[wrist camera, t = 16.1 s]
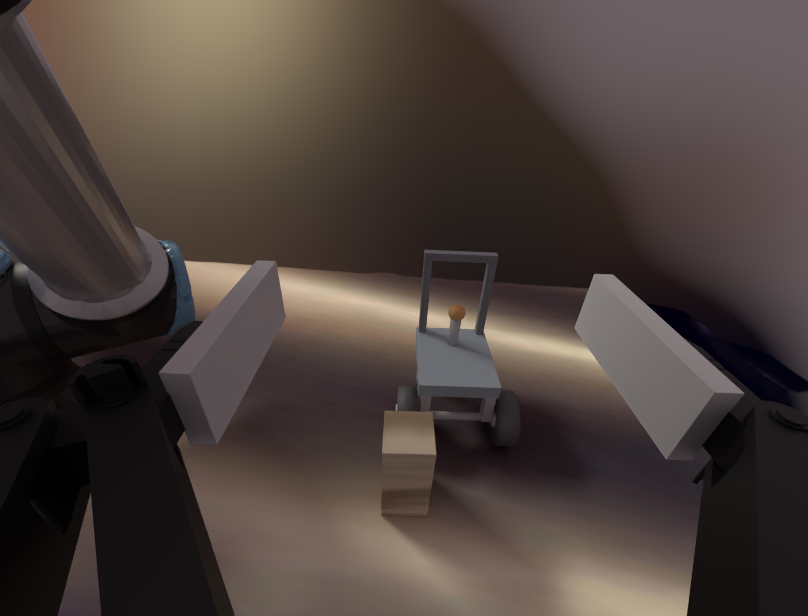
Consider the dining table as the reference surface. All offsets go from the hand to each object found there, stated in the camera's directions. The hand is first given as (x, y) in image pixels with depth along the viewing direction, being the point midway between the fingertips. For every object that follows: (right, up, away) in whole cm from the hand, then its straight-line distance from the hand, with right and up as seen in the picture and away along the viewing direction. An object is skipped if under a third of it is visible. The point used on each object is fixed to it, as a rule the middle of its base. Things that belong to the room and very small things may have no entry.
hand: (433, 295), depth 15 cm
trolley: (+5, -16, +36) cm, 39 cm away
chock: (-1, -22, +25) cm, 33 cm away
